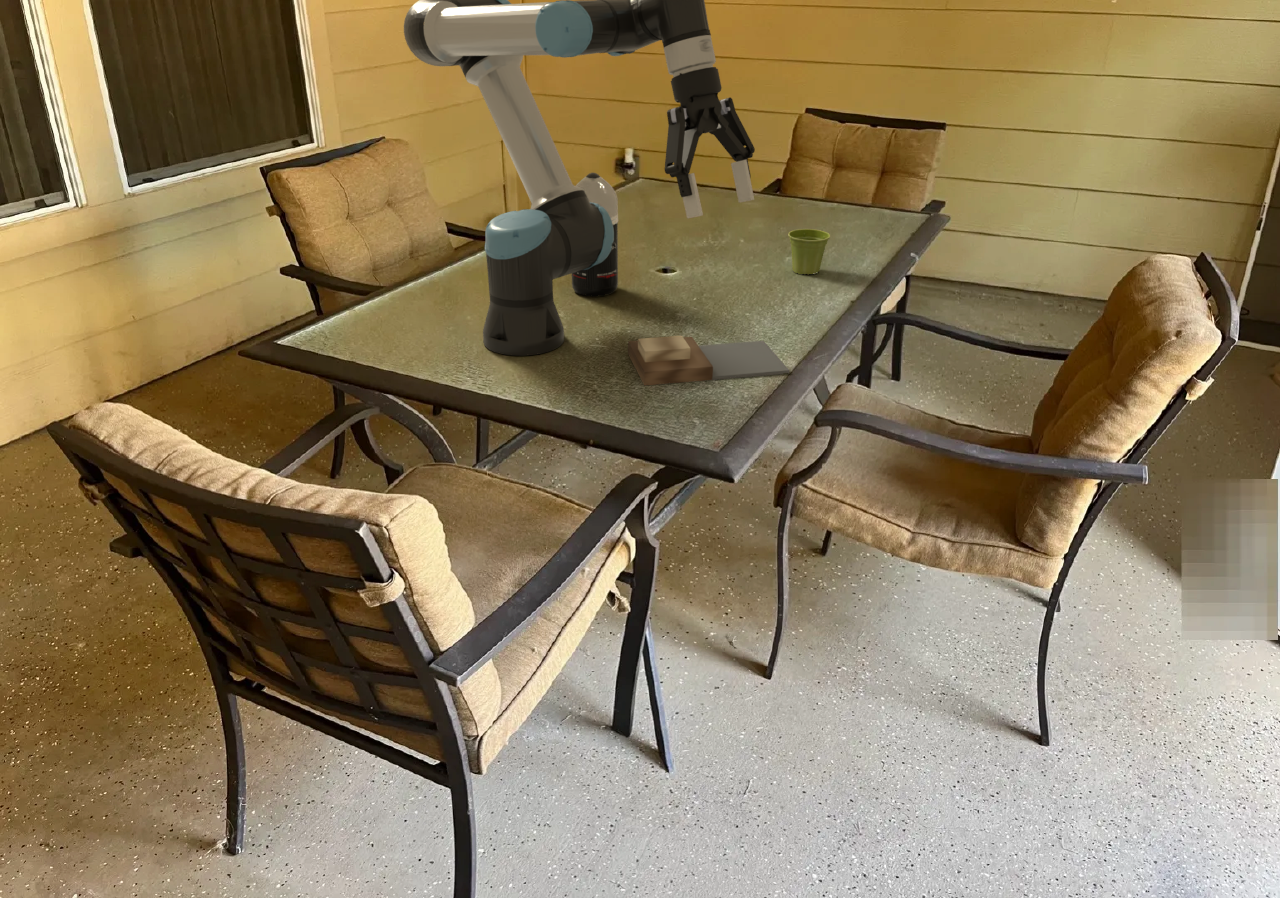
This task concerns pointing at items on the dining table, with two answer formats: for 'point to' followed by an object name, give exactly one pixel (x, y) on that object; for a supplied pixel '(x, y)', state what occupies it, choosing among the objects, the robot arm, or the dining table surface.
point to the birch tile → (663, 348)
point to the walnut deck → (672, 366)
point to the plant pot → (807, 249)
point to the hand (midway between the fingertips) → (721, 209)
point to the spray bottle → (606, 273)
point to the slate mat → (743, 360)
